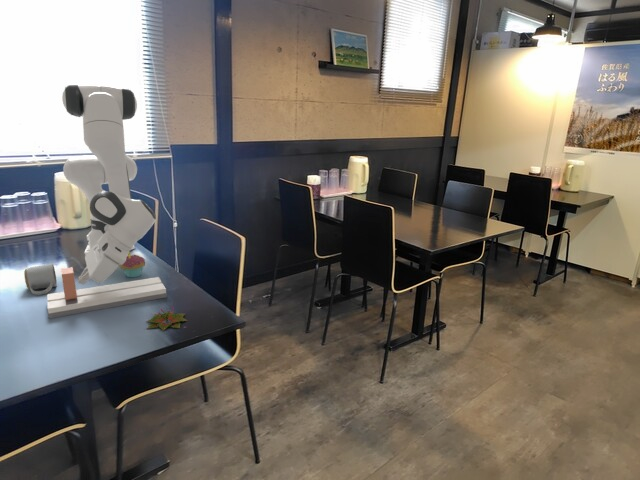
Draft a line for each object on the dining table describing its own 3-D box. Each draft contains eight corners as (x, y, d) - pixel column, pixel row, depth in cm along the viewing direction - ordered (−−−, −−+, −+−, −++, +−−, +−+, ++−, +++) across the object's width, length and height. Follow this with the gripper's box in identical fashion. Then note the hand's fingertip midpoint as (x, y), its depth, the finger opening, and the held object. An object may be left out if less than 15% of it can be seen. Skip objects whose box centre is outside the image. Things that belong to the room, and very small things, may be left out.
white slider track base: (48, 303, 130) (47, 294, 129) (159, 285, 146) (158, 276, 145) (49, 318, 121) (47, 308, 120) (166, 297, 137) (165, 288, 137)
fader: (65, 299, 129) (61, 268, 127) (76, 297, 131) (72, 267, 128) (66, 305, 125) (61, 274, 123) (77, 303, 127) (73, 272, 124)
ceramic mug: (28, 285, 142) (24, 263, 140) (57, 281, 146) (53, 260, 144) (26, 298, 133) (22, 275, 131) (57, 293, 137) (53, 271, 135)
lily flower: (150, 313, 127) (149, 299, 126) (192, 312, 129) (191, 298, 127) (139, 334, 116) (137, 318, 114) (185, 333, 117) (184, 317, 116)
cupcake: (136, 280, 149) (133, 247, 146) (115, 277, 151) (111, 245, 148) (151, 272, 158) (148, 240, 154) (130, 269, 159) (127, 238, 156)
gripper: (100, 231, 137) (69, 264, 135) (108, 250, 120) (72, 288, 118) (117, 243, 140) (86, 275, 138) (126, 263, 124) (92, 300, 122)
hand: (80, 282), depth 128 cm, fingers closed
